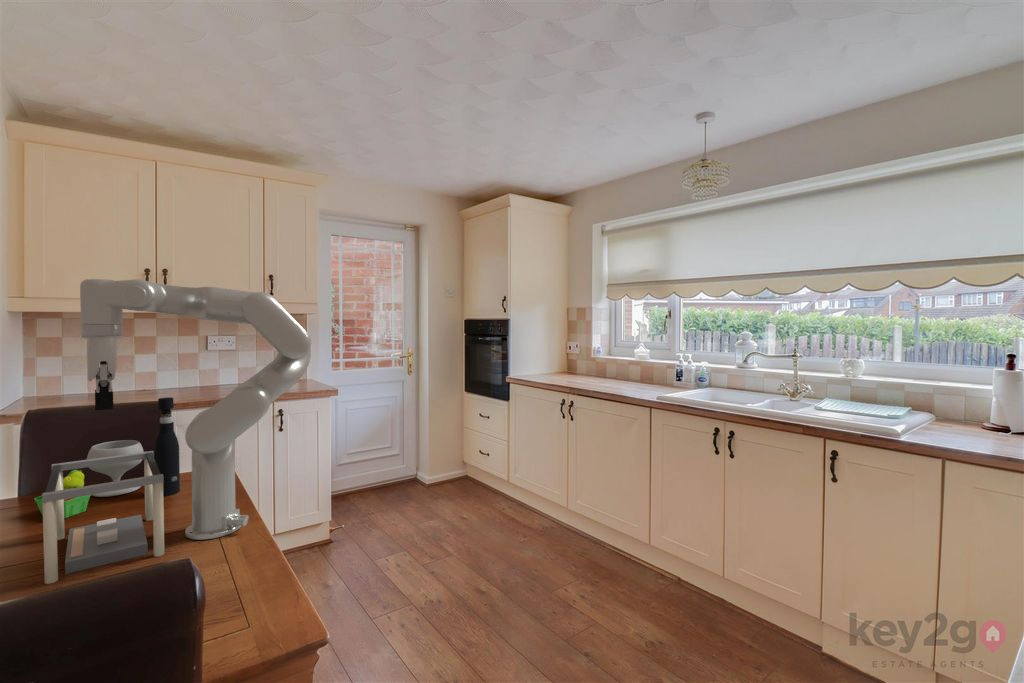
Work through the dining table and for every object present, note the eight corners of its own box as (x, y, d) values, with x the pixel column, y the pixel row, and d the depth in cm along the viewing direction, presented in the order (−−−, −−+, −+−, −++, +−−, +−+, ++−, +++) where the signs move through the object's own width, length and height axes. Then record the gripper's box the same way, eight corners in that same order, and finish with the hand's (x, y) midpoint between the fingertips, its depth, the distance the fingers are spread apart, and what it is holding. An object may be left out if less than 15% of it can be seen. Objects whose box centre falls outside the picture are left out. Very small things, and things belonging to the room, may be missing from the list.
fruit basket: (32, 516, 132) (31, 475, 131) (68, 504, 140) (67, 466, 140) (63, 520, 129) (62, 479, 129) (98, 508, 138) (97, 469, 137)
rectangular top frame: (52, 470, 118) (51, 463, 118) (152, 456, 131) (152, 450, 131) (42, 503, 97) (41, 495, 97) (163, 482, 110) (163, 475, 110)
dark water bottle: (159, 490, 153) (158, 397, 152) (182, 488, 155) (181, 396, 154) (151, 497, 147) (149, 400, 146) (175, 495, 149) (173, 399, 147)
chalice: (112, 501, 144) (111, 451, 143) (75, 497, 146) (73, 448, 146) (155, 485, 157) (154, 440, 157) (120, 482, 160) (119, 438, 160)
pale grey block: (97, 539, 111) (96, 532, 111) (117, 535, 113) (117, 528, 113) (97, 545, 110) (97, 537, 109) (117, 540, 112) (117, 533, 112)
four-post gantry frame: (53, 538, 119) (52, 470, 118) (154, 517, 132) (152, 456, 131) (44, 585, 98) (42, 503, 97) (164, 554, 111) (163, 482, 110)
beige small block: (97, 528, 117) (97, 521, 117) (116, 524, 119) (116, 517, 119) (97, 533, 116) (97, 526, 115) (116, 529, 118) (116, 522, 118)
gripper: (82, 331, 117) (83, 404, 118) (80, 332, 104) (82, 414, 105) (121, 331, 122) (123, 401, 123) (124, 332, 109) (126, 411, 109)
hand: (104, 406), depth 114 cm, fingers open, 6 cm apart
